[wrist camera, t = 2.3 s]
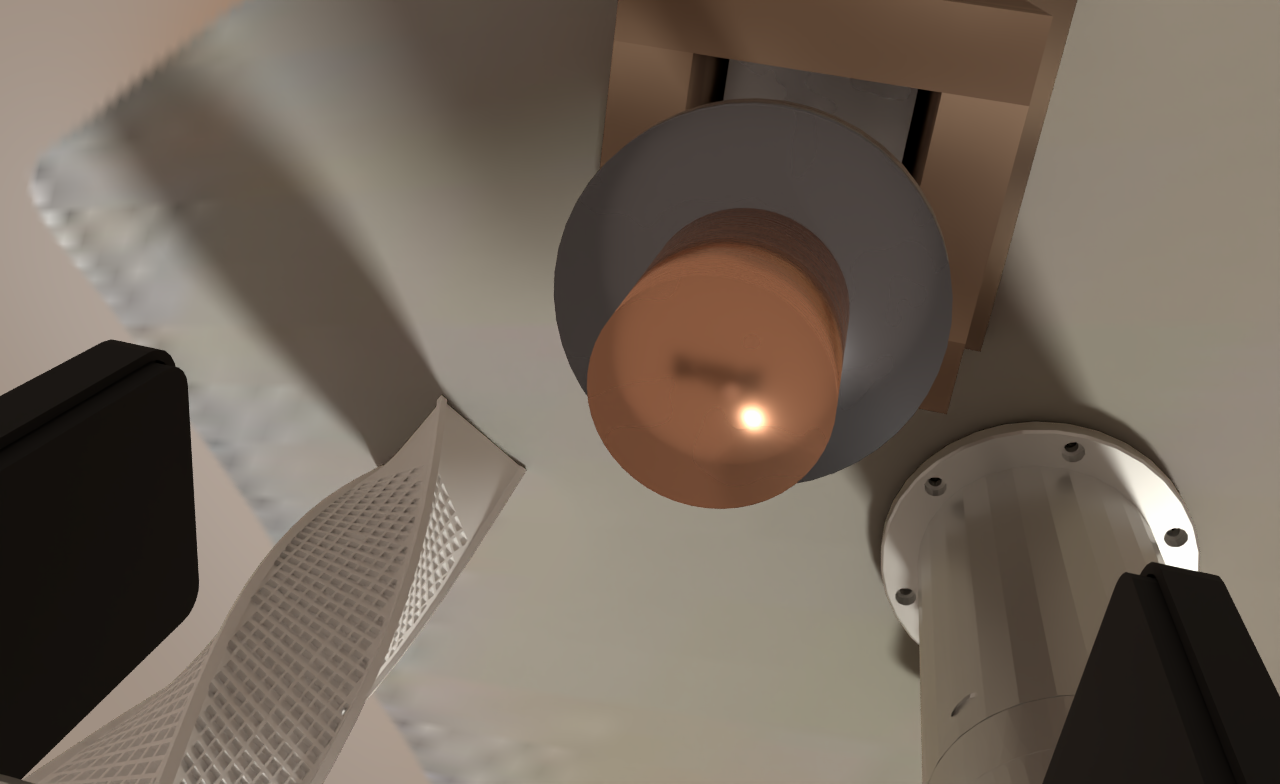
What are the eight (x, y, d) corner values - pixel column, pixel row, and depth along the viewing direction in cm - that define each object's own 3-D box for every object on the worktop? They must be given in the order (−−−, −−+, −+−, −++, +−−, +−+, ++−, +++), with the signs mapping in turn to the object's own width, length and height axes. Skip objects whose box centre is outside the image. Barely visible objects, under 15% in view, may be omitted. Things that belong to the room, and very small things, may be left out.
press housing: (978, 338, 43) (1013, 532, 30) (614, 269, 46) (488, 418, 32) (1097, -99, 37) (1215, -116, 23) (665, -155, 39) (533, -201, 25)
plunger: (902, 292, 33) (900, 652, 16) (675, 250, 34) (463, 548, 18) (959, 52, 30) (1025, 200, 14) (708, 14, 31) (492, 109, 15)
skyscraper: (440, 357, 49) (-47, 807, 24) (564, 465, 50) (220, 1011, 25) (349, 467, 53) (-160, 962, 27) (468, 566, 53) (78, 1137, 28)
